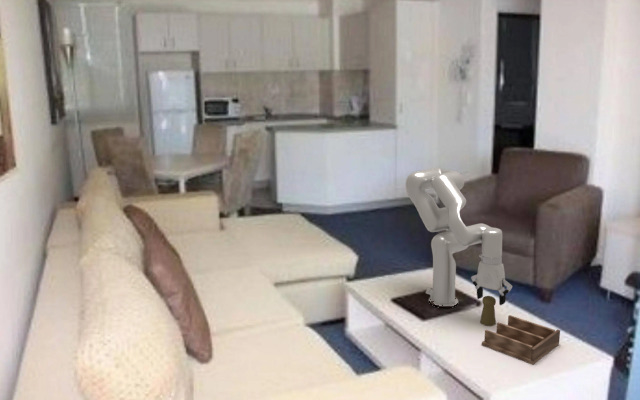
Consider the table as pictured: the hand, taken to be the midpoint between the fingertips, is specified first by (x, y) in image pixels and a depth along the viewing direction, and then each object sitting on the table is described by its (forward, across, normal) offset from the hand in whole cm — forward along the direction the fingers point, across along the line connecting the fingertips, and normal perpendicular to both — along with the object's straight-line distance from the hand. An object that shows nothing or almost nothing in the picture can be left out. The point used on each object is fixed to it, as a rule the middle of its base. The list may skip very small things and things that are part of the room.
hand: (490, 300), depth 225 cm
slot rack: (+10, +17, -8) cm, 21 cm away
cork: (+10, -1, 0) cm, 10 cm away
